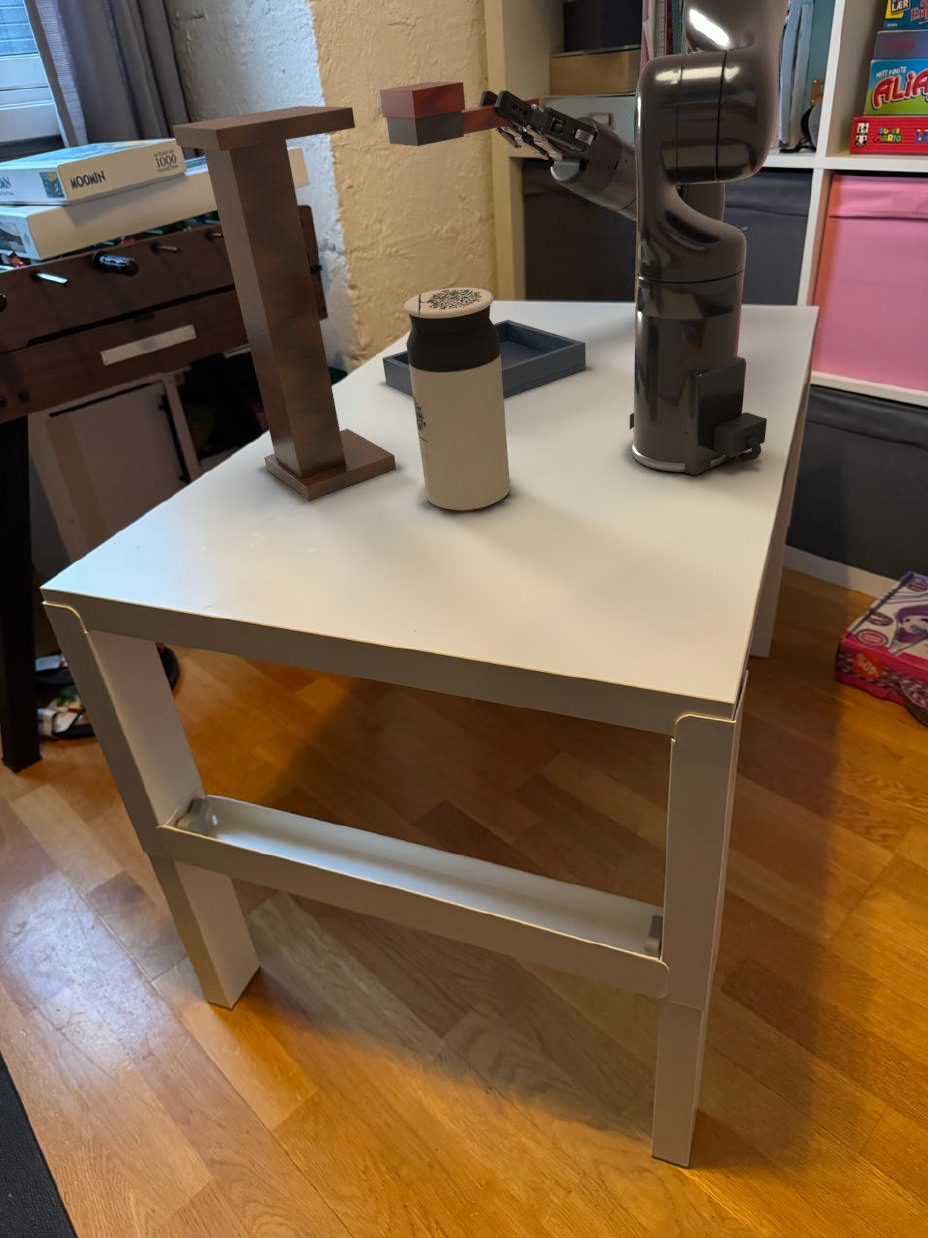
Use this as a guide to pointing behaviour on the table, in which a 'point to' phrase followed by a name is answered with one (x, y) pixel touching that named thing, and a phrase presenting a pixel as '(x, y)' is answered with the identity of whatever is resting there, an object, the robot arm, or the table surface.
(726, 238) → the robot arm
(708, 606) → the table surface
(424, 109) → the brush
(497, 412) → the travel mug
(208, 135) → the wooden pedestal stand
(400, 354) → the tray
